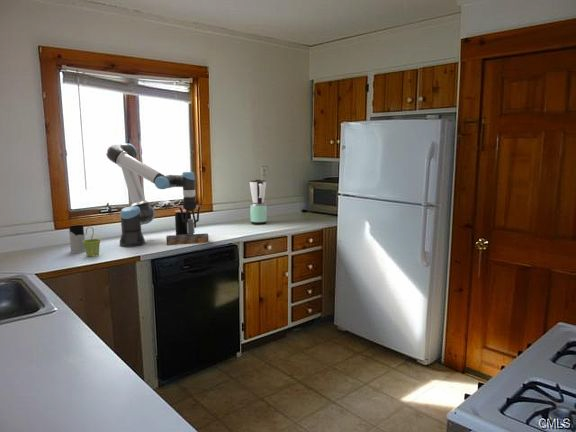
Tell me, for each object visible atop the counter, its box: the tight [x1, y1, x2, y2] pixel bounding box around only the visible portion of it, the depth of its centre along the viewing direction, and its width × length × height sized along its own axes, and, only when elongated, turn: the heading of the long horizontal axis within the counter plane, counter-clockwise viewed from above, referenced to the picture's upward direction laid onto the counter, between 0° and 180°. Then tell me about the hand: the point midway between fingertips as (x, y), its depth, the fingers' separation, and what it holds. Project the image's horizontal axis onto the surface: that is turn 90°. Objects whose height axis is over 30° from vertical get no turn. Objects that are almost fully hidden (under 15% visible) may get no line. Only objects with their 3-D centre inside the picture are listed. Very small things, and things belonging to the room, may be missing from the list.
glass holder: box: [68, 224, 95, 254], centre depth 259 cm, size 9×14×15 cm, turn 138°
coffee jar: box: [174, 208, 192, 235], centre depth 299 cm, size 11×11×18 cm
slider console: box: [165, 232, 210, 246], centre depth 281 cm, size 26×10×4 cm, turn 104°
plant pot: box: [83, 238, 102, 258], centre depth 247 cm, size 9×9×9 cm
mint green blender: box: [249, 179, 268, 226], centre depth 347 cm, size 19×13×35 cm
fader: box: [188, 218, 195, 236], centre depth 281 cm, size 3×5×11 cm, turn 14°
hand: (190, 232), depth 281 cm, fingers closed on fader, 3 cm apart
